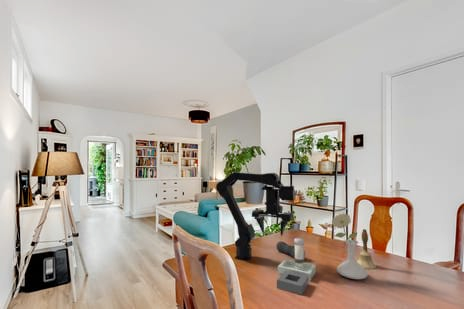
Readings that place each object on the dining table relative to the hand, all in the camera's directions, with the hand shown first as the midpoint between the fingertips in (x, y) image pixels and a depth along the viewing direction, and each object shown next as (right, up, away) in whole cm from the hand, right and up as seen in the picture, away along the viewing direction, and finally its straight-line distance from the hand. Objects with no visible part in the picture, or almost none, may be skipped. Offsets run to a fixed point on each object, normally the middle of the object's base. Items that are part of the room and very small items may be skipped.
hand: (272, 233), depth 114 cm
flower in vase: (+29, -13, -14) cm, 35 cm away
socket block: (+4, -12, -23) cm, 26 cm away
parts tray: (+8, -13, -12) cm, 19 cm away
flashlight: (+11, -14, +9) cm, 19 cm away
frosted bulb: (+9, -12, -12) cm, 19 cm away
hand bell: (+41, -13, -4) cm, 44 cm away
